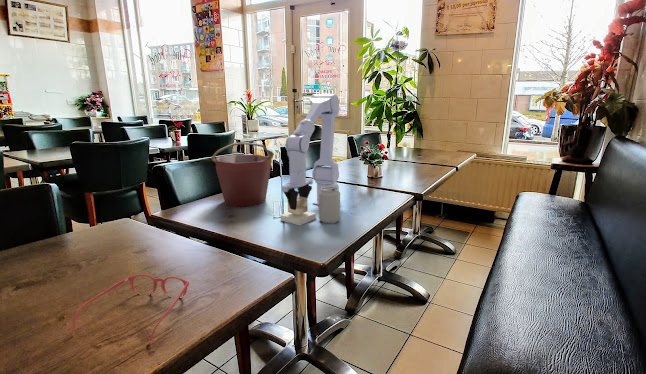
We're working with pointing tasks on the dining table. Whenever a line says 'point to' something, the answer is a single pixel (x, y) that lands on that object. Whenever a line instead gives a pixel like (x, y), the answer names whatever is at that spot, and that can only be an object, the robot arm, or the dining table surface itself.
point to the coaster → (298, 217)
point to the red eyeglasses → (134, 290)
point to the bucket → (243, 177)
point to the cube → (299, 206)
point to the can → (329, 205)
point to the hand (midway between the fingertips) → (298, 207)
